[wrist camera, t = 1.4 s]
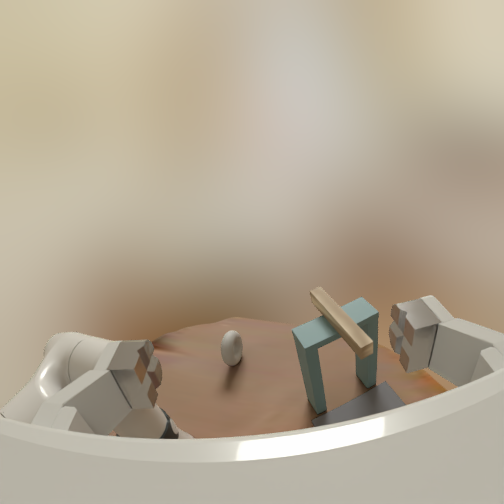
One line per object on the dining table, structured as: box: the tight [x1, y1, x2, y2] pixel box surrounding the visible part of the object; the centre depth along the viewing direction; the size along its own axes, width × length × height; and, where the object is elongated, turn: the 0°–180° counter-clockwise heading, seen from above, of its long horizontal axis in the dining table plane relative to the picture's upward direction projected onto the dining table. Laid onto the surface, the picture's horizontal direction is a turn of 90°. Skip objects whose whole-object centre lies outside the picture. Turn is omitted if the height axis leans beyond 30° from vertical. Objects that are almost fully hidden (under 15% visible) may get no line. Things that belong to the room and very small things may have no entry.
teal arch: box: [292, 297, 379, 414], centre depth 64 cm, size 16×6×24 cm, turn 107°
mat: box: [312, 381, 406, 427], centre depth 55 cm, size 20×25×1 cm
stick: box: [310, 287, 373, 360], centre depth 56 cm, size 2×19×3 cm, turn 17°
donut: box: [221, 331, 243, 366], centre depth 85 cm, size 10×4×10 cm, turn 164°
